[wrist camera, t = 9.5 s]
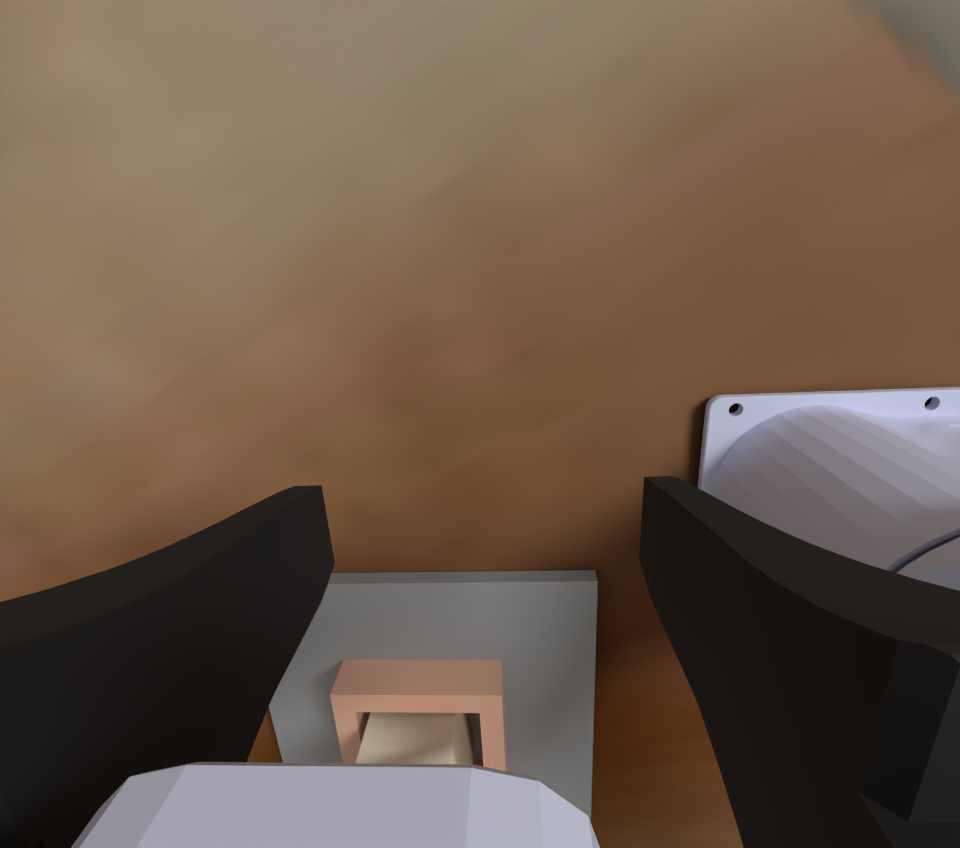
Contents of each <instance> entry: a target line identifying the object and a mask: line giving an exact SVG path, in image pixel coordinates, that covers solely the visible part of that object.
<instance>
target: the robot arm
mask: <svg viewBox="0 0 960 848" xmlns="http://www.w3.org/2000/svg"><path fill="white" fill-rule="evenodd" d="M930 397H931V399H932V400H931V402H930V404H929V405H927V406H925V402H926V400H927V399H929V398H930ZM735 403H738V404H739V407H738V410H737V411H736V412H734V413H729V408H730V406H731V405H733V404H735ZM639 558H640V562H641V565H642V569H643V573H644V576H645V580H646V583H647V587H648V590H649V593H650V597H651V599H652V601H653V604H654V606H655V608H656V611H657V613H658V615H659V617H660V620H661V622H662V624H663V626H664V629H665V631H666V633H667V635H668V637H669V640H670V642H671V644H672V646H673V648H674V651H675V653H676V655H677V657H678V660H679V662H680V664H681V666H682V668H683V671H684V673H685V675H686V677H687V679H688V682H689V684H690V686H691V688H692V691H693V693H694V696H695V698H696V701H697V703H698V706H699V708H700V711H701V714H702V717H703V720H704V723H705V726H706V729H707V732H708V735H709V738H710V741H711V744H712V747H713V750H714V753H715V756H716V759H717V762H718V765H719V768H720V771H721V774H722V778H723V781H724V784H725V787H726V790H727V794H728V797H729V800H730V803H731V807H732V810H733V813H734V816H735V819H736V823H737V826H738V829H739V833H740V836H741V840H742V843H743V847H744V848H960V387H941V388H912V389H882V390H853V391H823V392H794V393H764V394H735V395H718V396H714V397H713V398H711V399H710V400H709V401H708V402H707V405H706V408H705V417H704V428H703V438H702V448H701V458H700V468H699V478H698V488H697V487H695V486H693V485H691V484H689V483H687V482H685V481H683V480H681V479H679V478H676V477H674V476H666V477H644V490H643V507H642V523H641V539H640V556H639ZM334 563H335V561H334V556H333V550H332V544H331V538H330V533H329V527H328V521H327V515H326V509H325V504H324V498H323V492H322V486H321V485H320V486H294V487H291V488H288V489H286V490H283V491H281V492H279V493H276V494H274V495H272V496H270V497H268V498H266V499H264V500H262V501H260V502H258V503H256V504H254V505H252V506H250V507H248V508H246V509H244V510H242V511H240V512H238V513H236V514H234V515H232V516H230V517H228V518H226V519H224V520H222V521H220V522H218V523H216V524H214V525H212V526H210V527H208V528H206V529H204V530H202V531H200V532H197V533H195V534H193V535H191V536H189V537H187V538H185V539H183V540H180V541H178V542H176V543H174V544H172V545H170V546H167V547H165V548H163V549H160V550H158V551H155V552H153V553H151V554H148V555H146V556H143V557H141V558H138V559H135V560H133V561H130V562H128V563H125V564H122V565H120V566H117V567H114V568H111V569H109V570H106V571H103V572H100V573H97V574H93V575H90V576H87V577H84V578H81V579H78V580H75V581H72V582H69V583H66V584H62V585H59V586H56V587H53V588H50V589H47V590H43V591H40V592H36V593H33V594H29V595H25V596H22V597H18V598H14V599H11V600H7V601H3V602H0V848H600V847H599V844H598V842H597V839H596V836H595V833H594V831H593V828H592V825H591V822H590V820H589V817H588V815H586V814H585V813H583V812H582V811H581V810H579V809H578V808H576V807H575V806H573V805H572V804H571V803H569V802H568V801H566V800H565V799H564V798H562V797H561V796H559V795H558V794H556V793H555V792H554V791H552V790H551V789H549V788H548V787H547V786H545V785H544V784H542V783H541V782H539V781H538V780H537V779H535V778H534V777H532V776H528V775H523V774H518V773H513V772H508V771H503V770H498V769H493V768H488V767H483V766H478V765H473V764H373V763H263V762H247V759H248V757H249V754H250V752H251V749H252V746H253V744H254V741H255V739H256V736H257V734H258V731H259V729H260V726H261V724H262V721H263V718H264V716H265V713H266V711H267V709H268V707H269V704H270V702H271V700H272V698H273V696H274V694H275V691H276V689H277V687H278V685H279V683H280V682H281V680H282V678H283V676H284V674H285V672H286V670H287V668H288V666H289V664H290V662H291V660H292V658H293V656H294V655H295V653H296V651H297V649H298V647H299V645H300V643H301V641H302V639H303V637H304V635H305V633H306V631H307V629H308V627H309V625H310V624H311V622H312V620H313V618H314V616H315V614H316V612H317V610H318V608H319V606H320V603H321V601H322V599H323V596H324V593H325V591H326V588H327V585H328V582H329V579H330V576H331V573H332V570H333V566H334Z"/></svg>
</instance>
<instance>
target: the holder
mask: <svg viewBox="0 0 960 848" xmlns="http://www.w3.org/2000/svg"><path fill="white" fill-rule="evenodd" d="M597 592H598V580H597V576H596V572H595V570H559V571H469V572H380V573H331V576H330V579H329V582H328V585H327V588H326V591H325V593H324V596H323V599H322V601H321V603H320V606H319V608H318V610H317V612H316V614H315V616H314V618H313V620H312V622H311V624H310V625H309V627H308V629H307V631H306V633H305V635H304V637H303V639H302V641H301V643H300V645H299V647H298V649H297V651H296V653H295V655H294V656H293V658H292V660H291V662H290V664H289V666H288V668H287V670H286V672H285V674H284V676H283V678H282V680H281V682H280V683H279V685H278V687H277V689H276V691H275V694H274V696H273V698H272V700H271V702H270V704H269V709H270V713H271V717H272V721H273V725H274V729H275V733H276V737H277V741H278V745H279V749H280V753H281V757H282V761H283V763H356V760H357V756H358V753H359V750H360V746H361V743H362V739H363V736H364V733H365V729H366V726H367V723H368V719H369V716H370V712H408V713H468V714H469V718H470V722H471V726H472V731H473V735H474V739H475V743H474V757H473V765H478V766H483V767H488V768H493V769H498V770H503V771H508V772H513V773H518V774H523V775H528V776H532V777H534V778H535V779H537V780H538V781H539V782H541V783H542V784H544V785H545V786H547V787H548V788H549V789H551V790H552V791H554V792H555V793H556V794H558V795H559V796H561V797H562V798H564V799H565V800H566V801H568V802H569V803H571V804H572V805H573V806H575V807H576V808H578V809H579V810H581V811H582V812H583V813H585V814H586V815H588V817H589V820H590V822H591V797H592V763H593V729H594V695H595V661H596V627H597Z"/></svg>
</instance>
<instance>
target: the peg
mask: <svg viewBox="0 0 960 848" xmlns="http://www.w3.org/2000/svg"><path fill="white" fill-rule="evenodd" d="M474 743H475V739H474V735H473V731H472V726H471V722H470V718H469V714H468V713H408V712H370V716H369V719H368V723H367V726H366V729H365V733H364V736H363V739H362V743H361V746H360V750H359V753H358V756H357V760H356V763H373V764H473V757H474Z"/></svg>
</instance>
